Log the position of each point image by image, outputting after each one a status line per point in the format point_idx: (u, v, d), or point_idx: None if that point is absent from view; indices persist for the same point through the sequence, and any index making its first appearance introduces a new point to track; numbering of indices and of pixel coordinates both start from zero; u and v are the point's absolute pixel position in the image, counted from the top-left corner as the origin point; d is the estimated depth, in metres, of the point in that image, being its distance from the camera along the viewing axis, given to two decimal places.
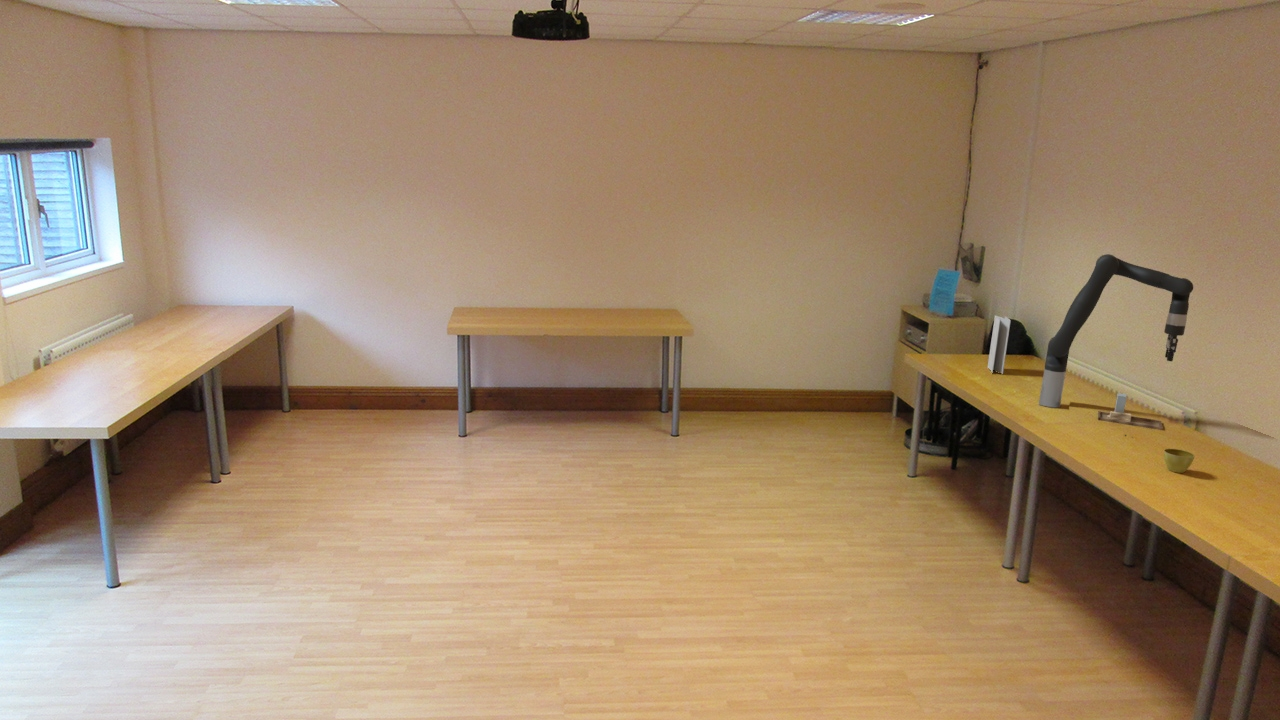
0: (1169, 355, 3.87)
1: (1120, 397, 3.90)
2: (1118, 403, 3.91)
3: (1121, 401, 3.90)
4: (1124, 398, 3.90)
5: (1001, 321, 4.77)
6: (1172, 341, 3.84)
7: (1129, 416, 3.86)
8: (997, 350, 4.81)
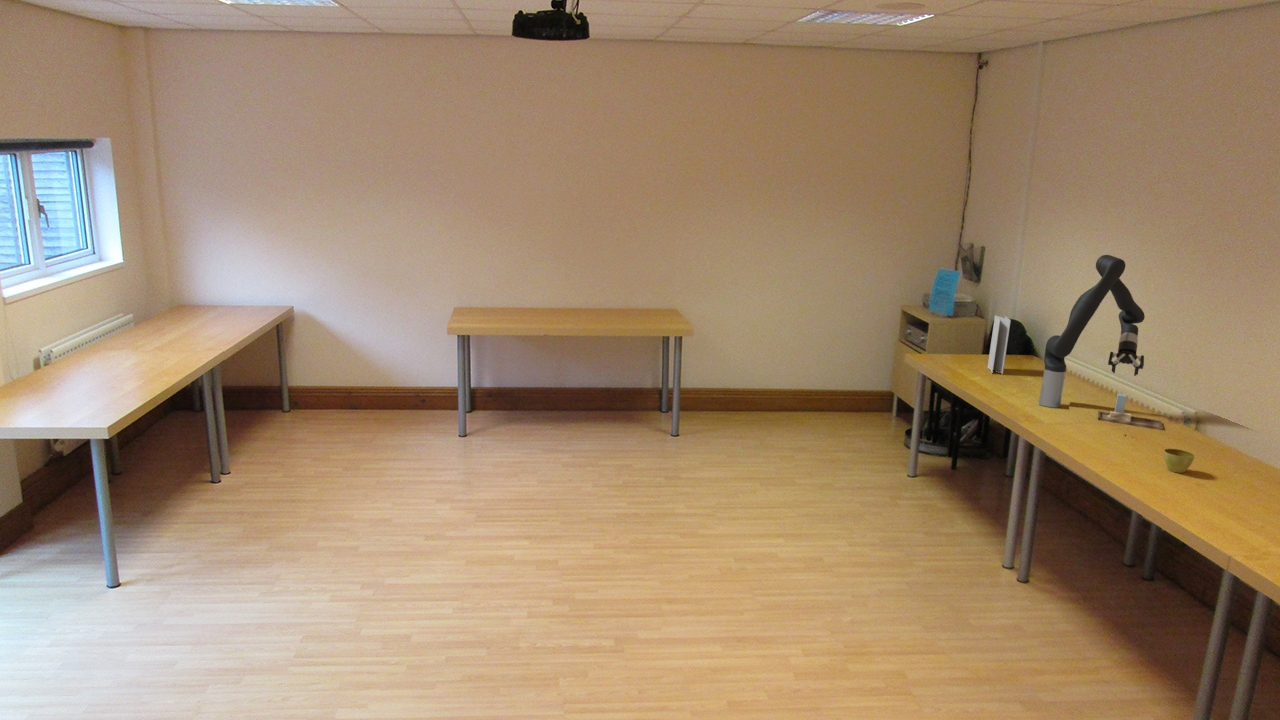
0: (1138, 369, 3.99)
1: (1120, 397, 3.90)
2: (1118, 403, 3.91)
3: (1121, 401, 3.90)
4: (1124, 398, 3.90)
5: (1001, 321, 4.77)
6: (1143, 358, 4.01)
7: (1129, 416, 3.86)
8: (997, 350, 4.81)
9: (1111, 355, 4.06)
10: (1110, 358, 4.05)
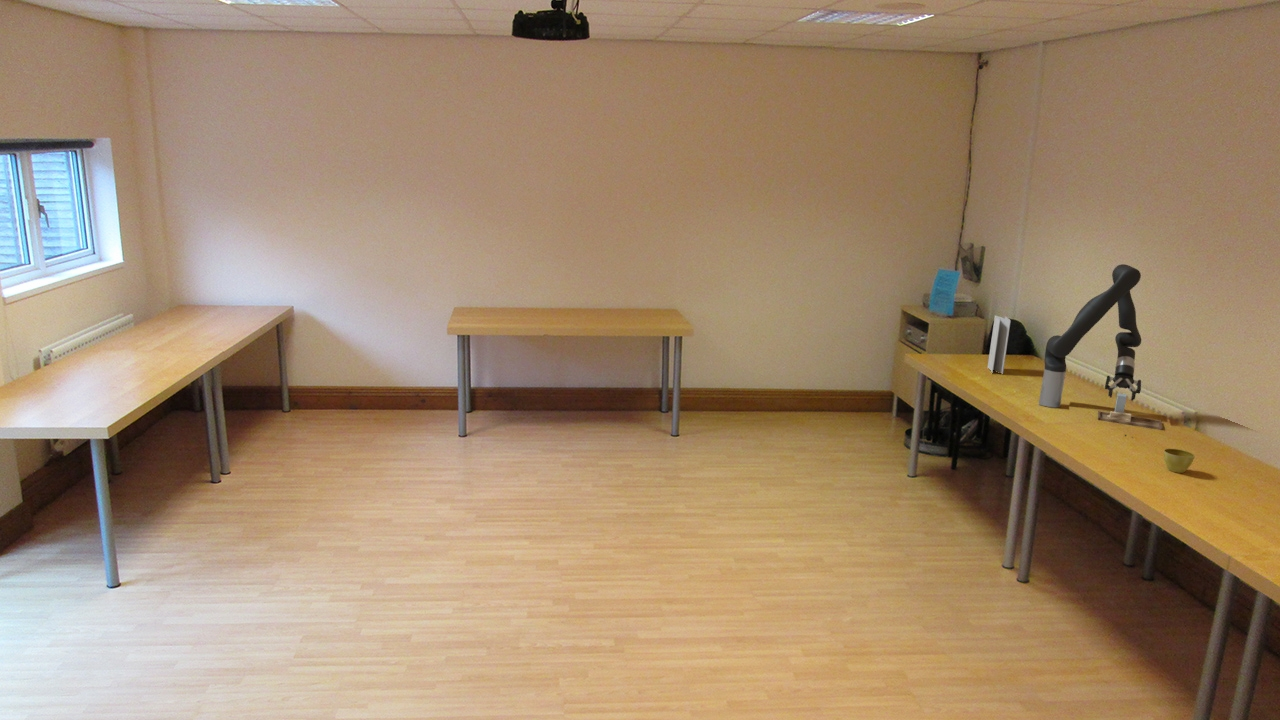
0: (1135, 394, 3.94)
1: (1120, 397, 3.90)
2: (1118, 403, 3.91)
3: (1121, 401, 3.90)
4: (1124, 398, 3.90)
5: (1001, 321, 4.77)
6: (1140, 382, 3.96)
7: (1129, 416, 3.86)
8: (997, 350, 4.81)
9: (1108, 379, 4.01)
10: (1107, 382, 4.00)
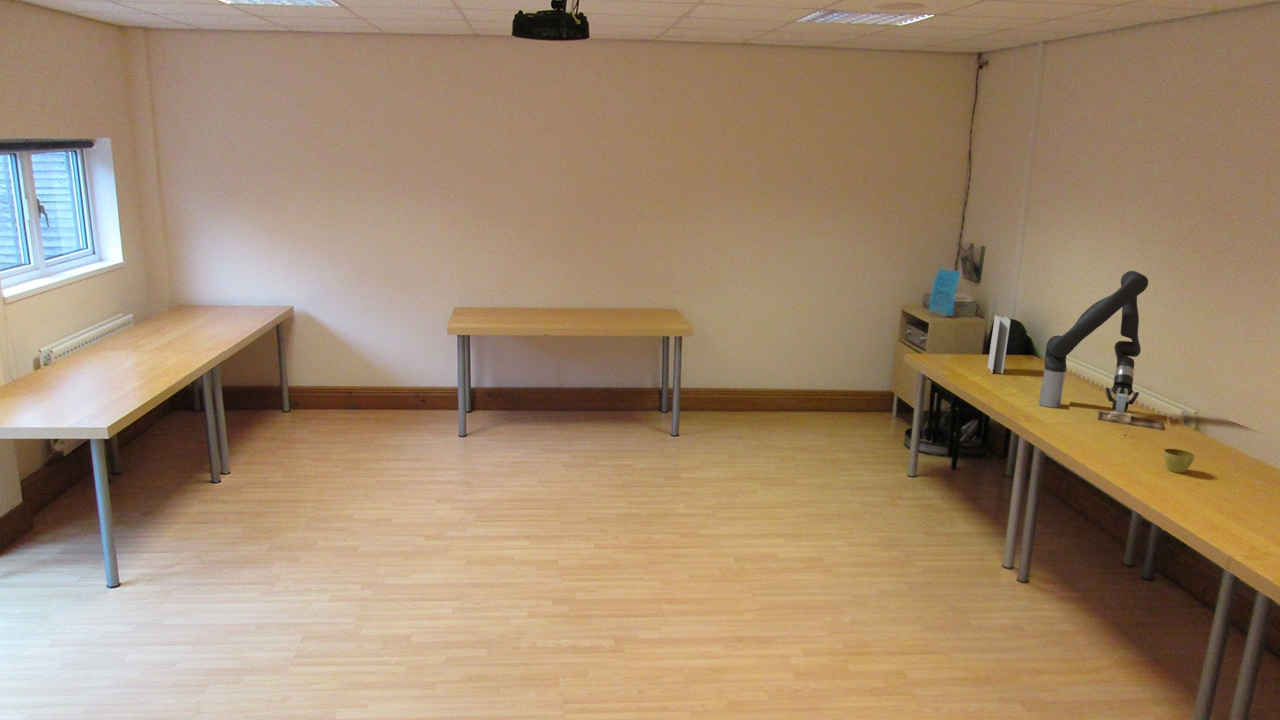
0: None
1: (1120, 397, 3.90)
2: (1118, 403, 3.91)
3: (1121, 401, 3.90)
4: (1124, 398, 3.90)
5: (1001, 321, 4.77)
6: (1137, 395, 3.93)
7: (1129, 416, 3.86)
8: (997, 350, 4.81)
9: (1108, 391, 3.97)
10: (1109, 394, 3.96)
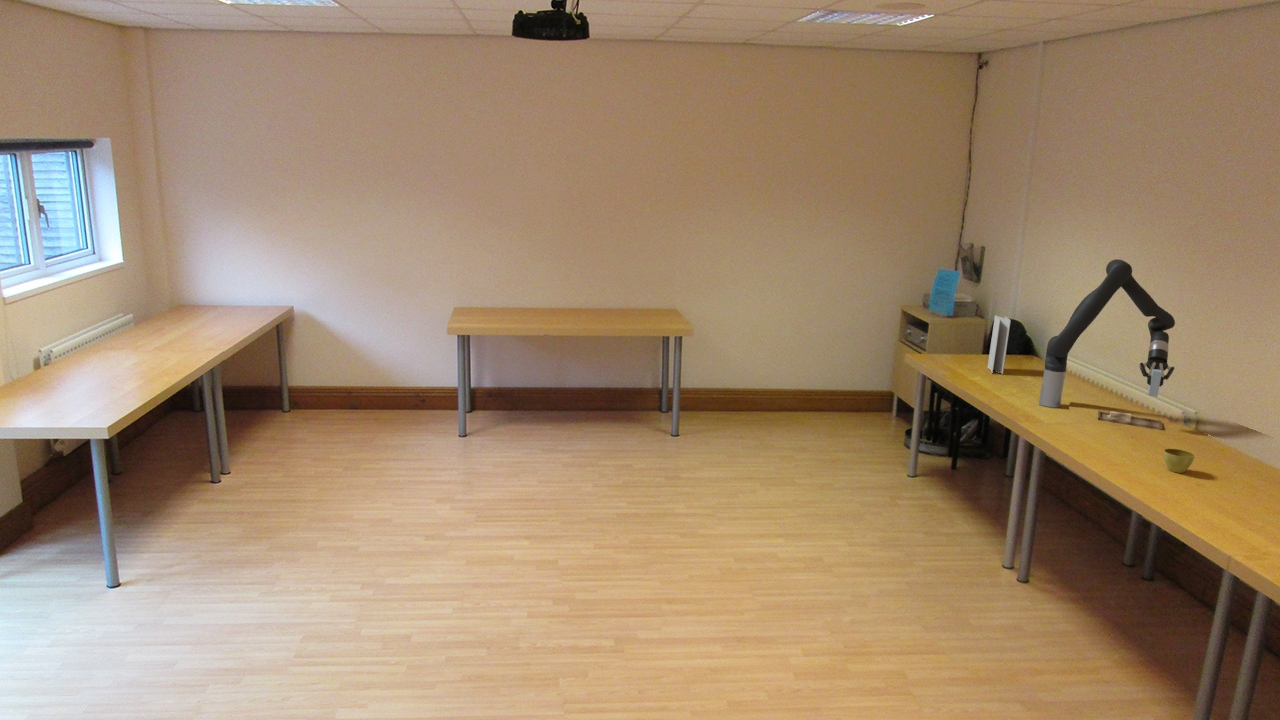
0: (1163, 380, 3.82)
1: (1155, 372, 3.81)
2: (1153, 379, 3.82)
3: (1156, 377, 3.82)
4: (1159, 374, 3.81)
5: (1001, 321, 4.77)
6: (1173, 370, 3.84)
7: (1129, 416, 3.86)
8: (997, 350, 4.81)
9: (1143, 366, 3.88)
10: (1144, 369, 3.87)
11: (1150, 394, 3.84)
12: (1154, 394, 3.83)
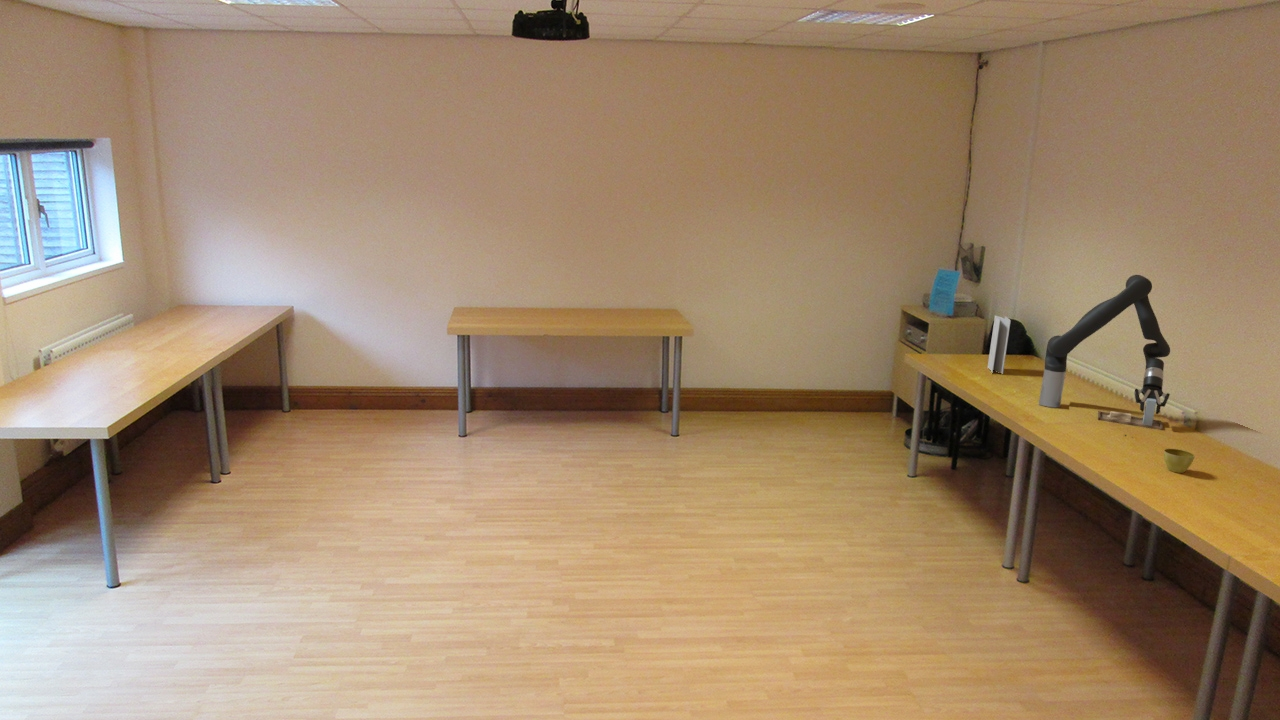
0: (1160, 407, 3.85)
1: (1149, 401, 3.85)
2: (1147, 408, 3.85)
3: (1151, 406, 3.85)
4: (1154, 403, 3.84)
5: (1001, 321, 4.77)
6: (1168, 396, 3.87)
7: (1129, 416, 3.86)
8: (997, 350, 4.81)
9: (1137, 392, 3.91)
10: (1137, 396, 3.90)
11: (1145, 423, 3.87)
12: (1148, 423, 3.86)
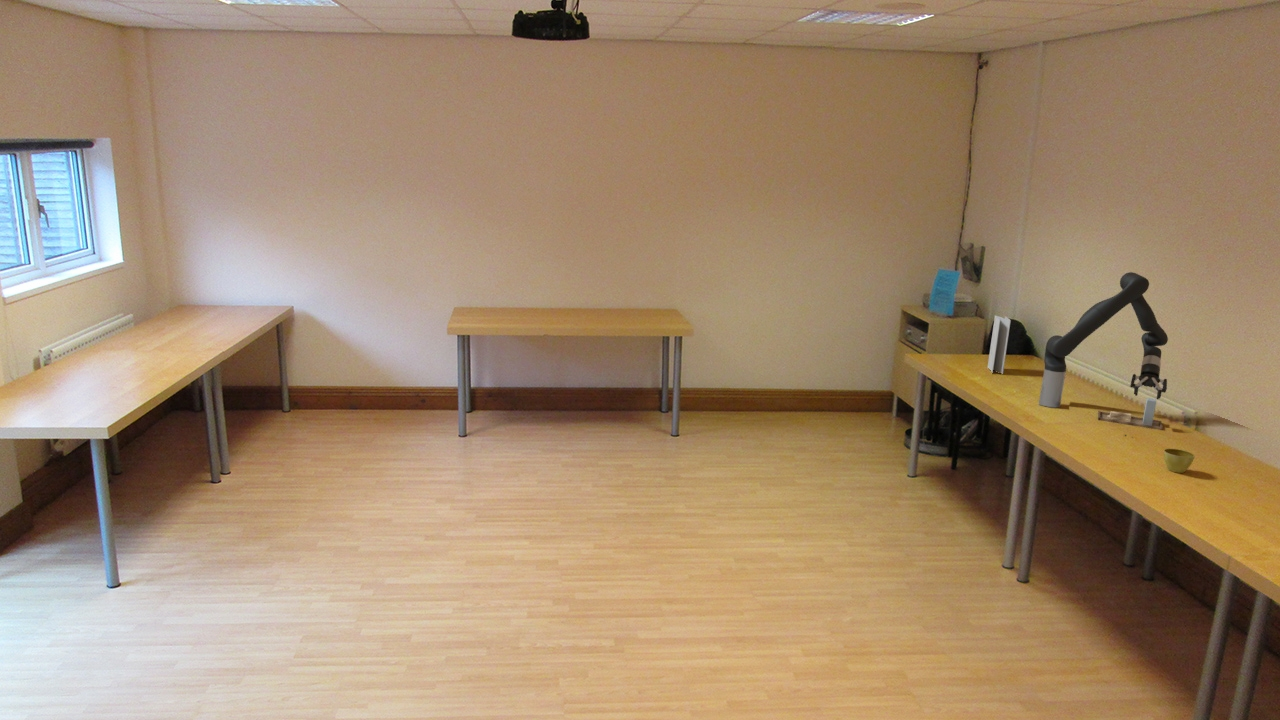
0: None
1: (1149, 401, 3.85)
2: (1147, 408, 3.85)
3: (1151, 406, 3.85)
4: (1154, 403, 3.84)
5: (1001, 321, 4.77)
6: (1166, 381, 3.98)
7: (1129, 416, 3.86)
8: (997, 350, 4.81)
9: (1134, 377, 4.03)
10: (1133, 380, 4.02)
11: (1145, 423, 3.87)
12: (1148, 423, 3.86)
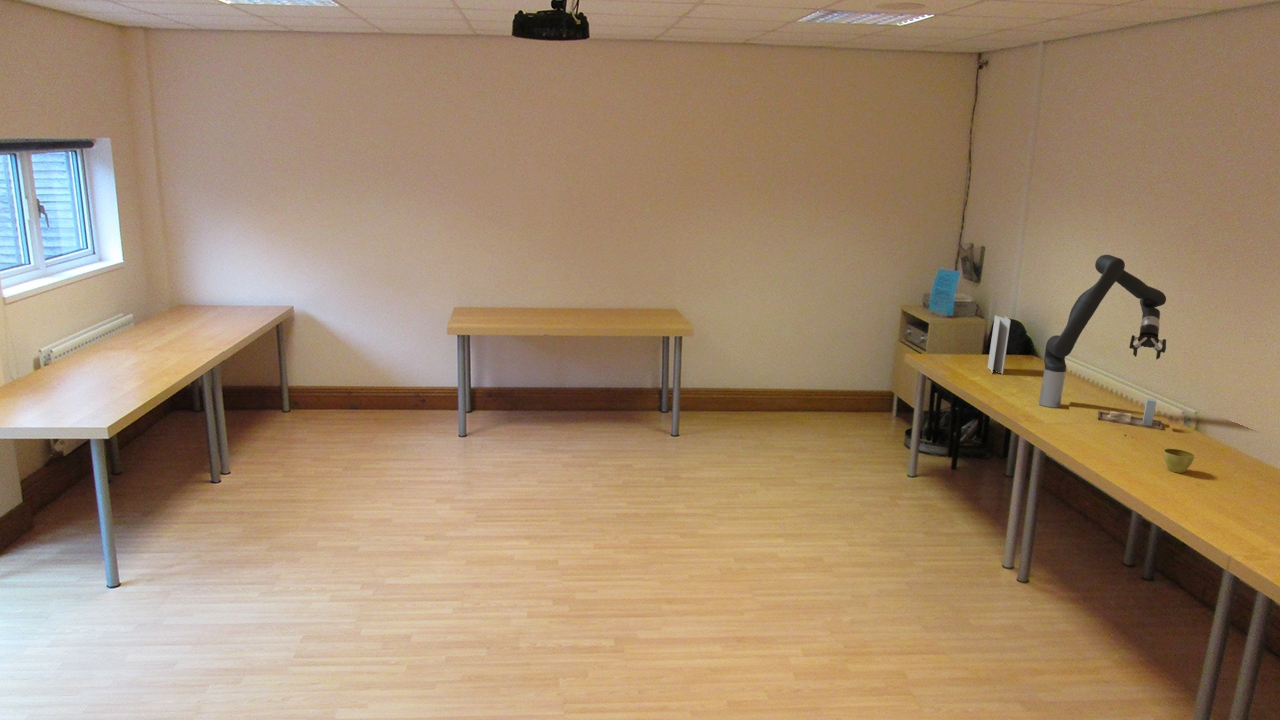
0: (1160, 353, 3.95)
1: (1149, 401, 3.85)
2: (1147, 408, 3.85)
3: (1151, 406, 3.85)
4: (1154, 403, 3.84)
5: (1001, 321, 4.77)
6: (1165, 342, 3.97)
7: (1129, 416, 3.86)
8: (997, 350, 4.81)
9: (1133, 339, 4.02)
10: (1132, 341, 4.01)
11: (1145, 423, 3.87)
12: (1148, 423, 3.86)
